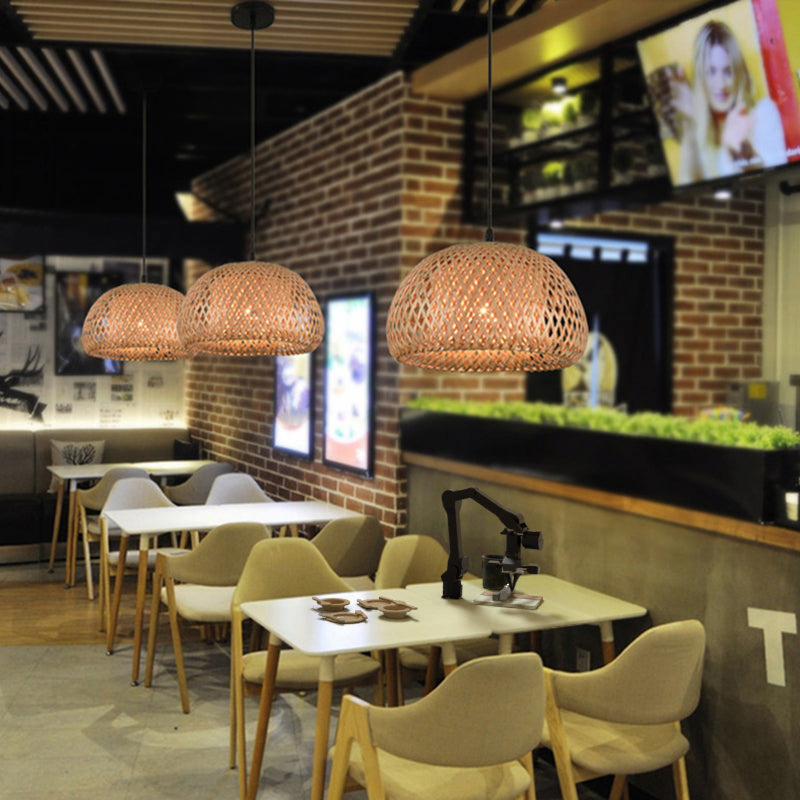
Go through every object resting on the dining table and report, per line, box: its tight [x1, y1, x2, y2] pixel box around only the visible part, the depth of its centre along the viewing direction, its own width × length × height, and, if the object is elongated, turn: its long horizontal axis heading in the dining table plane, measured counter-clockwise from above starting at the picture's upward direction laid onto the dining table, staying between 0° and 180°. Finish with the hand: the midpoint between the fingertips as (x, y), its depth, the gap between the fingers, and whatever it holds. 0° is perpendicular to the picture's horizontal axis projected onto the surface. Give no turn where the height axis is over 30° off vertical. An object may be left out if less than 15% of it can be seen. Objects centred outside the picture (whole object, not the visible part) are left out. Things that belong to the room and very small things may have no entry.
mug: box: [481, 553, 509, 591], centre depth 399 cm, size 11×15×12 cm
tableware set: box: [311, 595, 419, 624], centre depth 349 cm, size 35×29×4 cm
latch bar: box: [499, 584, 515, 601], centre depth 373 cm, size 13×4×4 cm, turn 164°
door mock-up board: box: [473, 590, 544, 610], centre depth 372 cm, size 22×18×4 cm
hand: (512, 591), depth 367 cm, fingers closed
